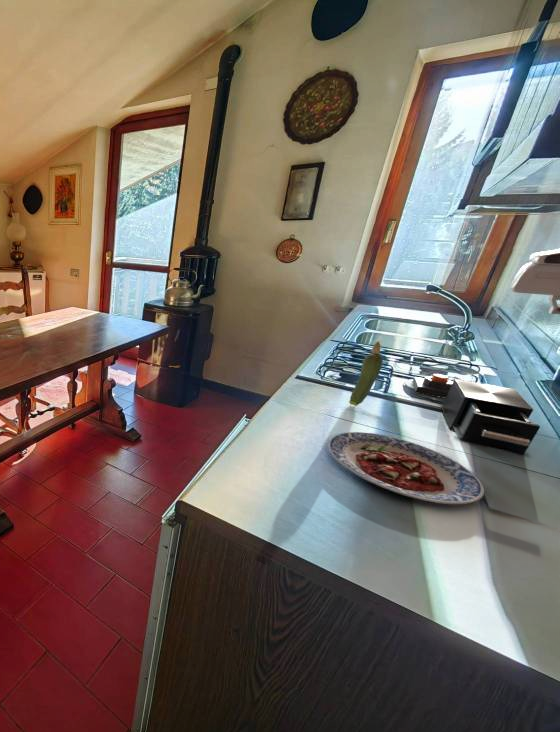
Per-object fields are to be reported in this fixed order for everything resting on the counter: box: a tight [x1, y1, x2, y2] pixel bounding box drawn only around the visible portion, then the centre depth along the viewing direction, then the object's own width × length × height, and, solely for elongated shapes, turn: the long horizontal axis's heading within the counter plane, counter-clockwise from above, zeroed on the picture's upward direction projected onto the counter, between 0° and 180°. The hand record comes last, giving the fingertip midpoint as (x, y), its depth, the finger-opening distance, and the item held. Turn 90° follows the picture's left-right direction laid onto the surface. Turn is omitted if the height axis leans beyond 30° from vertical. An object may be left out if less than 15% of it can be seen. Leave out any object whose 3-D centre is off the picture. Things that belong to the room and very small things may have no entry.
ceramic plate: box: [328, 431, 485, 505], centre depth 84 cm, size 26×26×3 cm
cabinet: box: [440, 378, 534, 432], centre depth 102 cm, size 15×12×10 cm
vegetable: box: [348, 340, 384, 407], centre depth 110 cm, size 4×4×20 cm
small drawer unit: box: [456, 400, 541, 456], centre depth 94 cm, size 18×10×8 cm, turn 144°
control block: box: [411, 375, 454, 399], centre depth 123 cm, size 10×10×4 cm
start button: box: [431, 373, 450, 383], centre depth 122 cm, size 4×4×2 cm
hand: (557, 314), depth 99 cm, fingers closed
